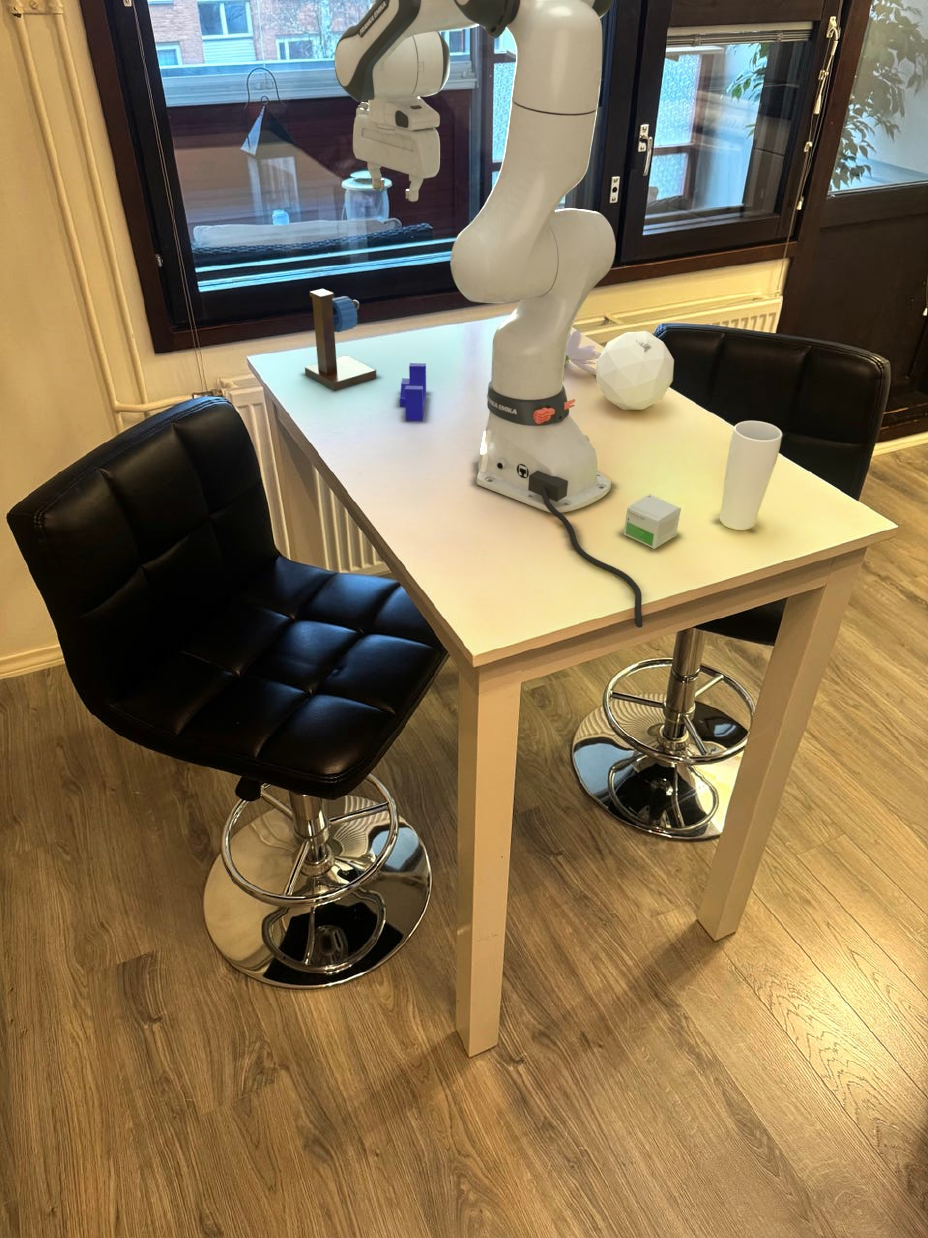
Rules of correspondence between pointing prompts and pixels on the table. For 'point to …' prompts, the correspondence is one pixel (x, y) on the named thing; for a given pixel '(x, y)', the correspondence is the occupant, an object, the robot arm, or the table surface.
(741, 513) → the drinking glass
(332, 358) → the hook stand
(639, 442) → the table surface
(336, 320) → the fluted cylinder
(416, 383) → the cable clip
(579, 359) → the water lily
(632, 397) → the geodesic sphere
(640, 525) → the small box
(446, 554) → the table surface
